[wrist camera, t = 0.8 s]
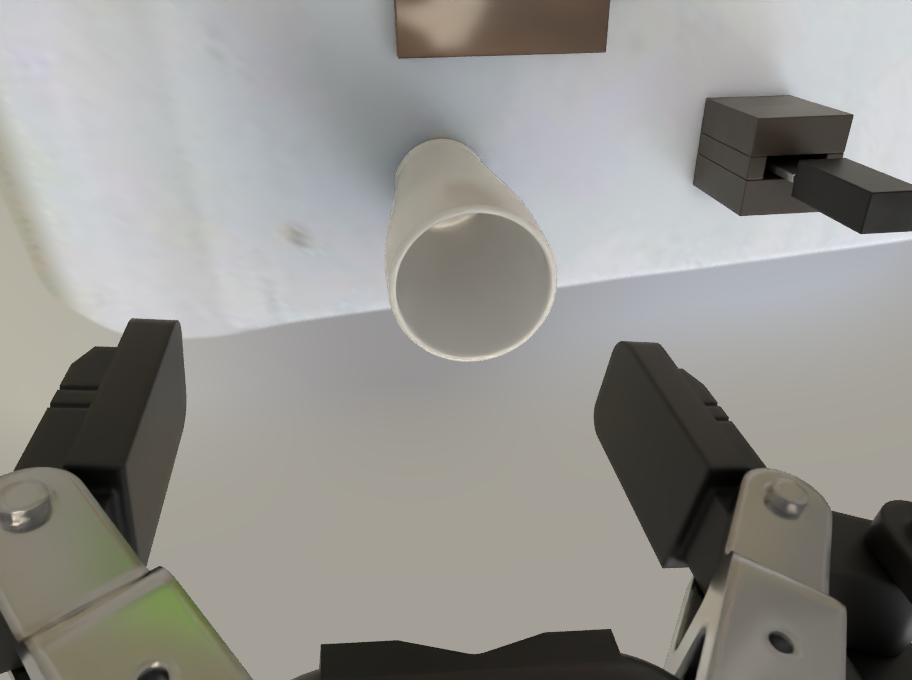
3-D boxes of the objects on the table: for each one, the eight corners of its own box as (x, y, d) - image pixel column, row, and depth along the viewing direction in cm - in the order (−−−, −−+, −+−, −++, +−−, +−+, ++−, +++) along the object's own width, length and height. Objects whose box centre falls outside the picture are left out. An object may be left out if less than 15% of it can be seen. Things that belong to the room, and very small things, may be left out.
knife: (721, 126, 39) (869, 192, 28) (764, 124, 40) (929, 189, 28) (716, 157, 40) (858, 234, 28) (758, 155, 40) (916, 231, 29)
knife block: (706, 98, 39) (758, 118, 33) (789, 95, 39) (854, 114, 34) (692, 184, 41) (739, 216, 36) (771, 181, 41) (829, 211, 36)
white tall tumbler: (504, 227, 41) (566, 348, 28) (393, 247, 41) (403, 378, 28) (490, 112, 38) (553, 189, 25) (370, 134, 37) (369, 221, 24)
